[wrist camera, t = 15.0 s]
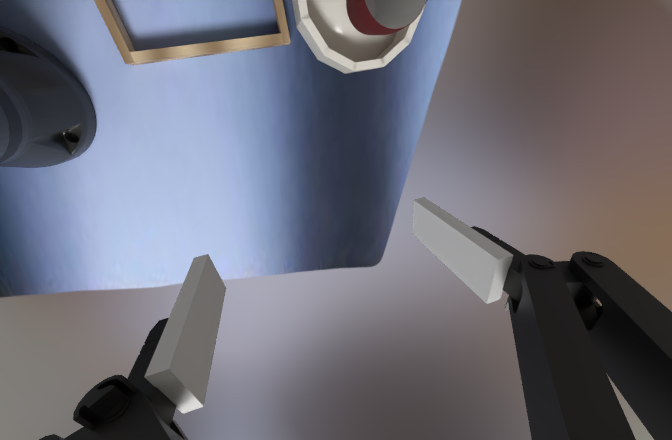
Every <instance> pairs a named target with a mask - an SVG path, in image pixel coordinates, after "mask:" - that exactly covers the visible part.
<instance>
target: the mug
mask: <svg viewBox="0 0 672 440" xmlns="http://www.w3.org/2000/svg"><path fill="white" fill-rule="evenodd" d="M426 1H427V0H346V8H347V14H348V17H349V20H350V22H351V23H352V25H353V26H354V28H355V29H356V30H357V31H359V32H360V33H362V34H365V35H389V34H392V33H395V32H397V31H400V30H401V29H403V28H405V27H407V26H409V25H410V24H411V23H412V22H414V21H415V20H416V19H417V17H418V16H419V15H420V13H421V12H422V10H423V8H424V6H425V4H426Z"/></svg>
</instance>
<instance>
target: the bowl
mask: <svg viewBox="0 0 672 440" xmlns="http://www.w3.org/2000/svg"><path fill="white" fill-rule="evenodd" d="M292 3H293V9H294V15H295V20H296V26H297V29H298V30H299V32H300V33H301V35H302V36H303V38H304V39H305V41H306V42H307V44H308V45H309V47H310V48H311V50H312V51H313V53H314V54H315V56H316V57H317V59H318V60H320V61H322V62H324V63H326V64H328V65H329V66H331V67H333V68H335V69H337V70H339V71H341V72H343V73H345V74H346V73H351V72H358V71H364V70H370V69H376V68H380V67H384V66H385V65H387V64H388V63H389V62H390V61H391V60H392V59H393V58H394V57H395V56H396V55H397V54H398V53H400V52H401V51H402V50H403V49H404V48H405V47H406V46H407V45H408V44H409V43H410V41H411V39H412V36H413V34H414V31H415V29H416V27H417V24H418V22H419V19H420V17H421V14H422V12H423V10H424V8H423V10H422V12H421V13H420V15H419V16H418V17H417V19H416V20H415V21H414V22H412V23H411V24H410V25H409V26H407V27H405V28H403V29H401V30H400V31H397V32H395V33H392V34H389V35H365V34H362V33H360V32H359V31H357V30H356V29H355V28H354V26H353V25H352V23H351V22H350V20H349V17H348V14H347V8H346V0H292ZM425 5H426V4H425ZM424 7H425V6H424Z"/></svg>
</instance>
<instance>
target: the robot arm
mask: <svg viewBox="0 0 672 440" xmlns="http://www.w3.org/2000/svg"><path fill="white" fill-rule="evenodd" d="M95 132H96V117H95V112H94V109H93V106H92V103H91V101H90V99H89V97H88V95H87V93H86V91H85V90H84V88H83V86H82V85H81V84H80V82H79V81H78V80H77V78H76V77H75V76H74V75H73V74H72V73H71V71H70V70H69V69H68V68H67V67H66V66H65V65H63V64H62V63H61V62H60V61H59V60H58V59H57V58H55V57H54V56H53V55H52V54H50V53H49V52H48V51H46V50H45V49H43V48H42V47H40V46H39V45H37V44H36V43H34V42H32V41H30V40H29V39H27V38H25V37H23V36H21V35H18V34H16V33H14V32H12V31H9V30H6V29H3V28H0V166H3V167H25V168H38V167H47V166H53V165H57V164H60V163H63V162H66V161H69V160H72V159H74V158H76V157H78V156H80V155H81V154H82V153H84V152H85V151H86V150H87V149H88V148H89V146H90V145H91V143H92V141H93V139H94V136H95ZM413 235H414V236H415V237H416V238H418V240H420V241H421V242H422V243H423V244H424V245H425V246H426V247H427V248H428V249H429V250H430V251H431V252H432V253H433V254H434V255H435V256H436V257H438V258H439V259H440V260H441V261H442V262H443V263H444V264H445V265H446V266H447V267H448V268H449V269H450V270H451V271H453V273H455V274H456V275H457V276H458V277H459V278H460V279H461V280H462V281H463V282H464V283H465V284H466V285H467V286H468V287H469V288H470V289H472V290H473V291H474V292H475V293H476V294H477V295H478V296H479V297H480V298H481V299H482V300H483V301H484V302H485V303H487V304H488V303H490V302H493V301H496V300H498V299H500V298H501V294H502V291H503V290H504V291H505V292H506V293H507V294H509V297H508V300H507V303H506V306H505V310H504V311H506V312H507V311H508V308H509V310H510V316H511V322H512V328H513V333H514V339H515V345H516V350H517V357H518V362H519V368H520V373H521V380H522V386H523V391H524V397H525V403H526V408H527V414H528V420H529V426H530V431H531V437H532V440H636V439H635V437H634V435H633V432H632V430H631V428H630V426H629V423H628V421H627V419H626V417H625V415H624V412H623V410H622V408H621V405H620V403H619V401H618V399H617V397H616V394H615V392H614V390H613V387H612V385H611V383H610V381H609V379H608V376H609V377H610V379H611V380H612V382H613V383H614V384H615V386H616V387H617V389H618V390H619V391H620V393H621V394H622V395H623V397H624V398H625V400H626V401H627V402H628V404H629V405H630V407H631V408H632V409H633V411H634V412H635V414H636V415H637V416H638V418H639V419H640V420H641V422H642V423H643V425H644V426H645V427H646V428H647V430H648V431H649V433H650V434H651V436H652V437H653V438H654V440H672V312H671V311H670V310H669V309H668V308H666V307H665V306H664V305H663V304H662V303H661V302H659V301H658V300H657V299H656V298H655V297H654V296H652V295H651V294H650V293H649V292H648V291H646V290H645V289H644V288H643V287H642V286H641V285H639V284H638V283H637V282H636V281H635V280H634V279H632V278H631V277H630V276H629V275H628V274H627V273H625V272H624V271H623V270H622V269H621V268H619V267H618V266H617V265H616V264H615V263H614V262H612V261H611V260H609V259H608V258H606V257H604V256H601V255H599V254H596V253H592V252H584V251H582V252H576V253H574V254H573V255H572V257H571V260H570V261H561V262H560V261H559V262H554V261H552V260H551V259H548V258H546V257H544V256H540V255H530V254H529V255H524V254H523V253H521V252H519V251H518V250H516V249H515V248H513V247H512V246H510V245H508V244H507V243H505V242H503V241H502V240H499V238H497V237H495V236H493V235H492V234H490V233H489V232H487V231H485V230H484V229H481V228H478V227H475V226H474V227H469V226H468V225H466V224H464V223H463V222H461V221H459V220H458V219H457V218H455V217H454V216H452V215H451V214H449V213H448V212H446V211H444V210H443V209H441V208H440V207H438V206H437V205H435V204H434V203H432V202H430V201H429V200H427V199H426V198H420V199H416V200H414V209H413ZM225 291H226V287H225V285H224V283H223V281H222V279H221V278H220V276H219V274H218V272H217V270H216V268H215V266H214V264H213V262H212V261H211V259H210V257H209V255H208V254H207V255H203V256H199V257H196V258H194V259H193V262H192V264H191V267H190V269H189V271H188V274H187V276H186V279H185V281H184V283H183V286H182V288H181V291H180V293H179V295H178V298H177V300H176V302H175V305H174V307H173V310H172V312H171V314H170V317H169V318H166V319H163V320H160V321H159V322H158V323H157V324H156V325H155V326H154V328H153V329H152V330H151V331H150V333H149V335H148V337H147V339H146V341H145V345H143V347H142V349H141V351H140V355H139V356H138V358H137V360H136V362H135V364H134V366H133V368H132V370H131V373H130V374H129V377H128V379H127V378H125V377H124V376H122V375H114V376H112V377H109V378H107V379H105V380H103V381H102V382H100V383H99V384H97V385H96V386H94V387H93V388H92V389H91V390H90V391H89V392H88V393H87V394H86V395H85V396H84V397H83V398H82V400H81V401H80V402H79V403H78V405H77V407H76V409H75V411H74V419H73V420H74V421H76V422H78V423H79V424H81V425H82V426H84V427H83V428H81V429H79V430H78V431H76V432H74V433H73V434H71V435H69V436H68V437H66V438H64V439H63V438H61V437H59V436H57V435H54V434H53V435H49V436H45V437H43V438H42V439H39V440H188V439H187V437H186V436H185V434H184V433H183V431H182V430H181V428H180V427H179V426H178V424H177V423H176V422H175V421H174V420H173V416H174V412H175V409H176V407H177V408H178V409H179V410H180V411H181V412H182V413H186V412H189V411H192V410H195V409H197V408H200V407H203V406H204V401H205V396H206V391H207V385H208V380H209V375H210V370H211V365H212V359H213V354H214V349H215V344H216V338H217V333H218V328H219V323H220V317H221V312H222V307H223V301H224V296H225ZM596 299H598V300H599V301H600V302H601V304H602V306H600V305H599V304H598V303H597V301H596ZM606 373H607V374H606ZM607 375H608V376H607Z"/></svg>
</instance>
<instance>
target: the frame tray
mask: <svg viewBox="0 0 672 440" xmlns="http://www.w3.org/2000/svg"><path fill="white" fill-rule="evenodd" d="M94 1H95V3H96V5H97V7H98V9H99V11H100V13H101V15H102V17H103V19H104V21H105V23H106V25H107V27H108V29H109V31H110V33H111V35H112V37H113V39H114V42H115V44H116V46H117V48H118V50H119V52H120V54H121V56H122V58H123V60H124V62H125V64H130V65H139V64H146V63H154V62H161V61H169V60H176V59H184V58H191V57H199V56H206V55H214V54H221V53H229V52H236V51H244V50H251V49H259V48H266V47H274V46H281V45H289V44H290V37H289V32H288V26H287V21H286V16H285V11H284V6H283V0H273V5H274V9H275V14H276V19H277V24H278V29H279V33H280V34H272V35H264V36H256V37H247V38H239V39H231V40H223V41H215V42H207V43H199V44H191V45H183V46H175V47H167V48H159V49H151V50H143V51H136V50H135V48H134V46H133V44H132V42H131V40H130V38H129V35H128V33H127V31H126V29H125V27H124V25H123V23H122V21H121V18H120V16H119V14H118V12H117V10H116V8H115V6H114V3H113V1H112V0H94Z"/></svg>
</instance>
